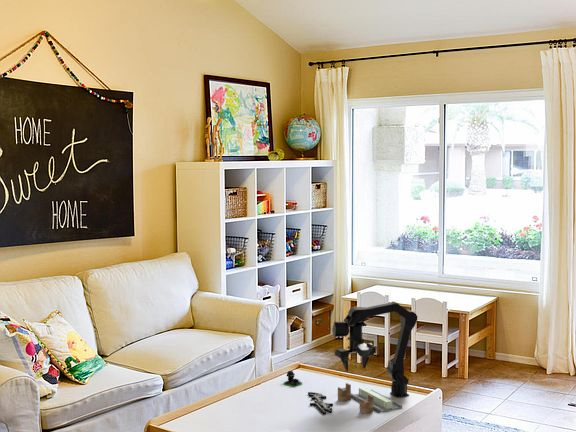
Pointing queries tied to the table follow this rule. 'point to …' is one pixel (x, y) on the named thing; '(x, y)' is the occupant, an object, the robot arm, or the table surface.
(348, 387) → the hook post
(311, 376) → the table surface
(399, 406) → the track
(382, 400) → the rail
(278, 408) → the table surface
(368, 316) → the robot arm
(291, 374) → the toy figurine
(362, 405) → the hook post
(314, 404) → the nameplate
